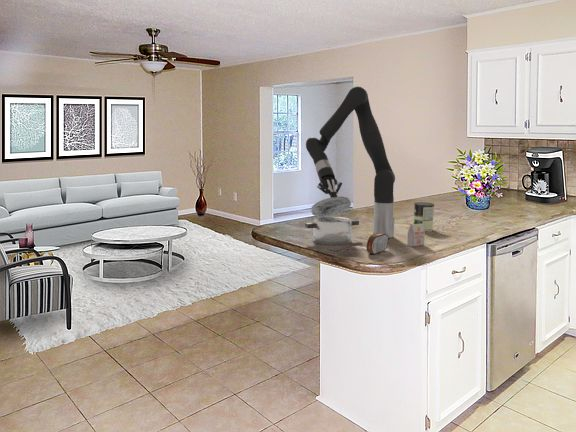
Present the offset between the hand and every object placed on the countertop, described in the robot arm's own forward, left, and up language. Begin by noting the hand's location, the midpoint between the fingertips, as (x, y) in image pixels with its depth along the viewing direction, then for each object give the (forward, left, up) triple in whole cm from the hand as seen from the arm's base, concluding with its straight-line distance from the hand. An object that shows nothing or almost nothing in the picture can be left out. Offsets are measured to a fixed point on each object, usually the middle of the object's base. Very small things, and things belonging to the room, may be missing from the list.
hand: (335, 199), depth 239 cm
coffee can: (-58, -10, -20) cm, 62 cm away
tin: (-8, +26, -20) cm, 34 cm away
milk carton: (-32, +20, -20) cm, 43 cm away
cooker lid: (0, -4, -5) cm, 6 cm away
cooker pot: (0, -2, -20) cm, 20 cm away
